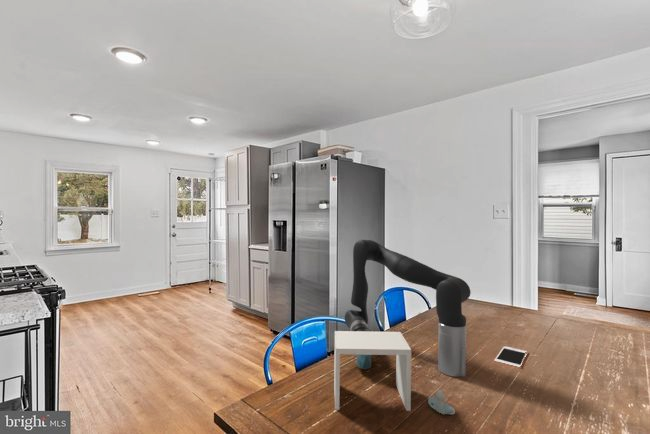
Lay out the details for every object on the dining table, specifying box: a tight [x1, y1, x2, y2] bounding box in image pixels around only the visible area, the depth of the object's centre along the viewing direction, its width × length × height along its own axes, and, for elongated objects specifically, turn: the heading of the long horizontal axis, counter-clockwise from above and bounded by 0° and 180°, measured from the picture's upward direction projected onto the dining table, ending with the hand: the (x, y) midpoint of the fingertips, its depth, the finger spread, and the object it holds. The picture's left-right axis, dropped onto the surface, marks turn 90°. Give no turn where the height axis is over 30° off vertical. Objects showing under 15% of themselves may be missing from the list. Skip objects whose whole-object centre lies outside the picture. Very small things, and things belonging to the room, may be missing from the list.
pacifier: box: [428, 389, 456, 415], centre depth 93 cm, size 7×6×6 cm
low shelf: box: [333, 330, 412, 412], centre depth 99 cm, size 14×22×18 cm, turn 90°
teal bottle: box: [356, 329, 372, 370], centre depth 115 cm, size 5×5×12 cm
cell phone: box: [494, 346, 528, 367], centre depth 128 cm, size 9×18×1 cm, turn 140°
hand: (364, 349), depth 113 cm, fingers closed on teal bottle, 5 cm apart
